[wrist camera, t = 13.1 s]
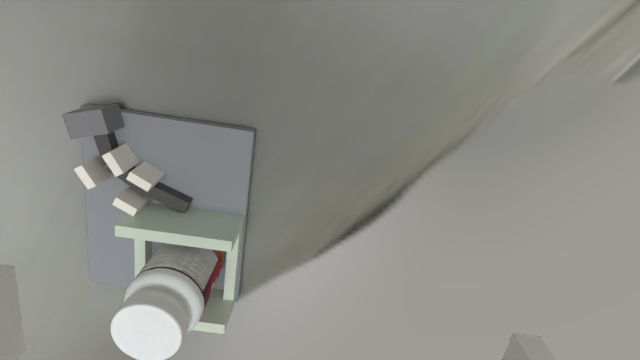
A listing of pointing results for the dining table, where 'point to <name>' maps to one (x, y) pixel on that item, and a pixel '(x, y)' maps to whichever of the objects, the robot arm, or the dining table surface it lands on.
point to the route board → (186, 170)
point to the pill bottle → (166, 301)
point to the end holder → (193, 232)
